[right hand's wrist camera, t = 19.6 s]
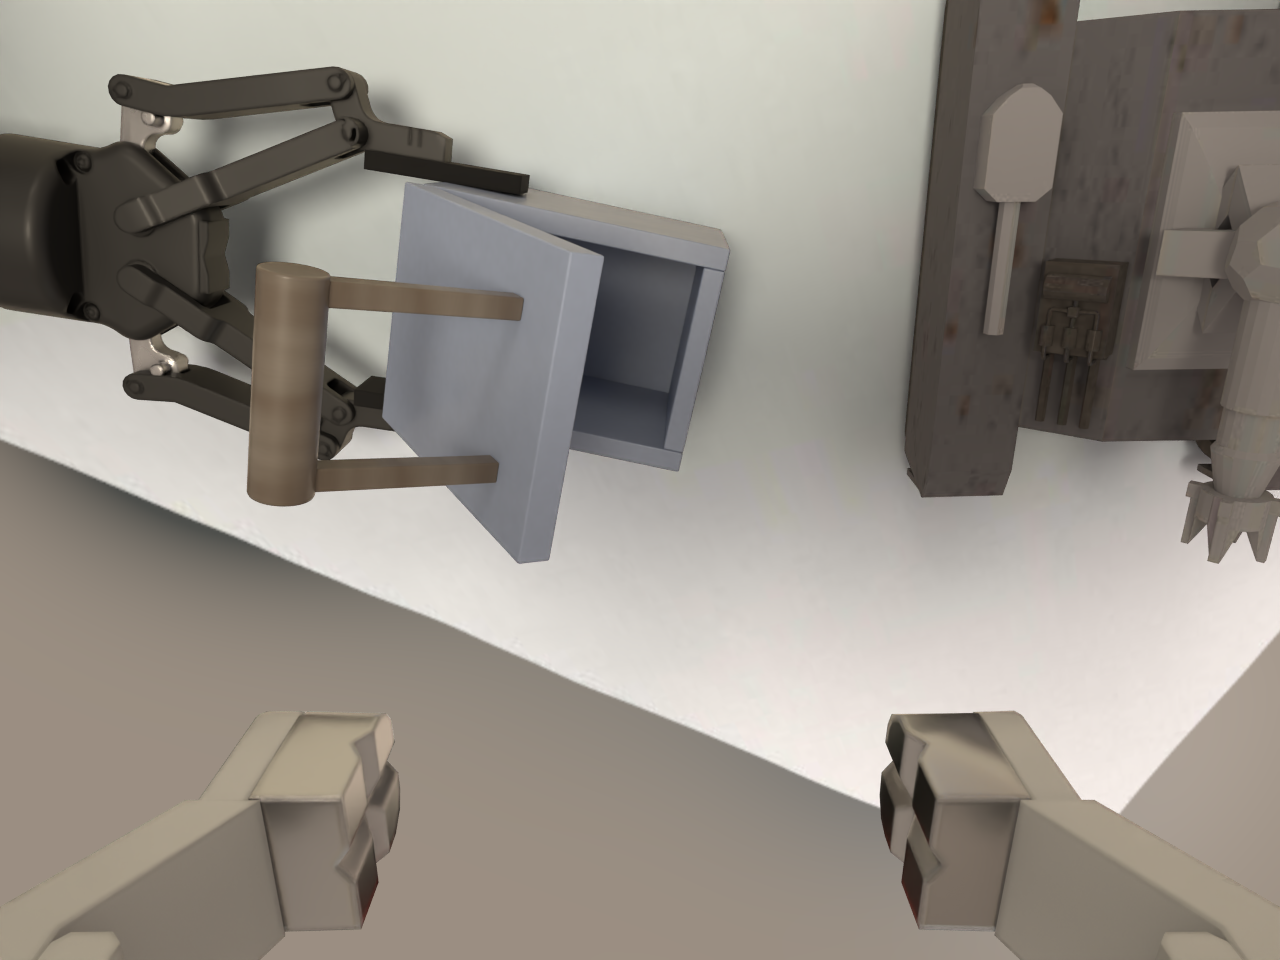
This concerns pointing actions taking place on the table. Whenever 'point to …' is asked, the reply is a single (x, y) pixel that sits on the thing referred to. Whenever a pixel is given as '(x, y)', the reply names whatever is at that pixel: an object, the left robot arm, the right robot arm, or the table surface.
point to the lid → (437, 367)
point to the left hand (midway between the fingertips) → (512, 302)
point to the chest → (632, 318)
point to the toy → (1103, 249)
